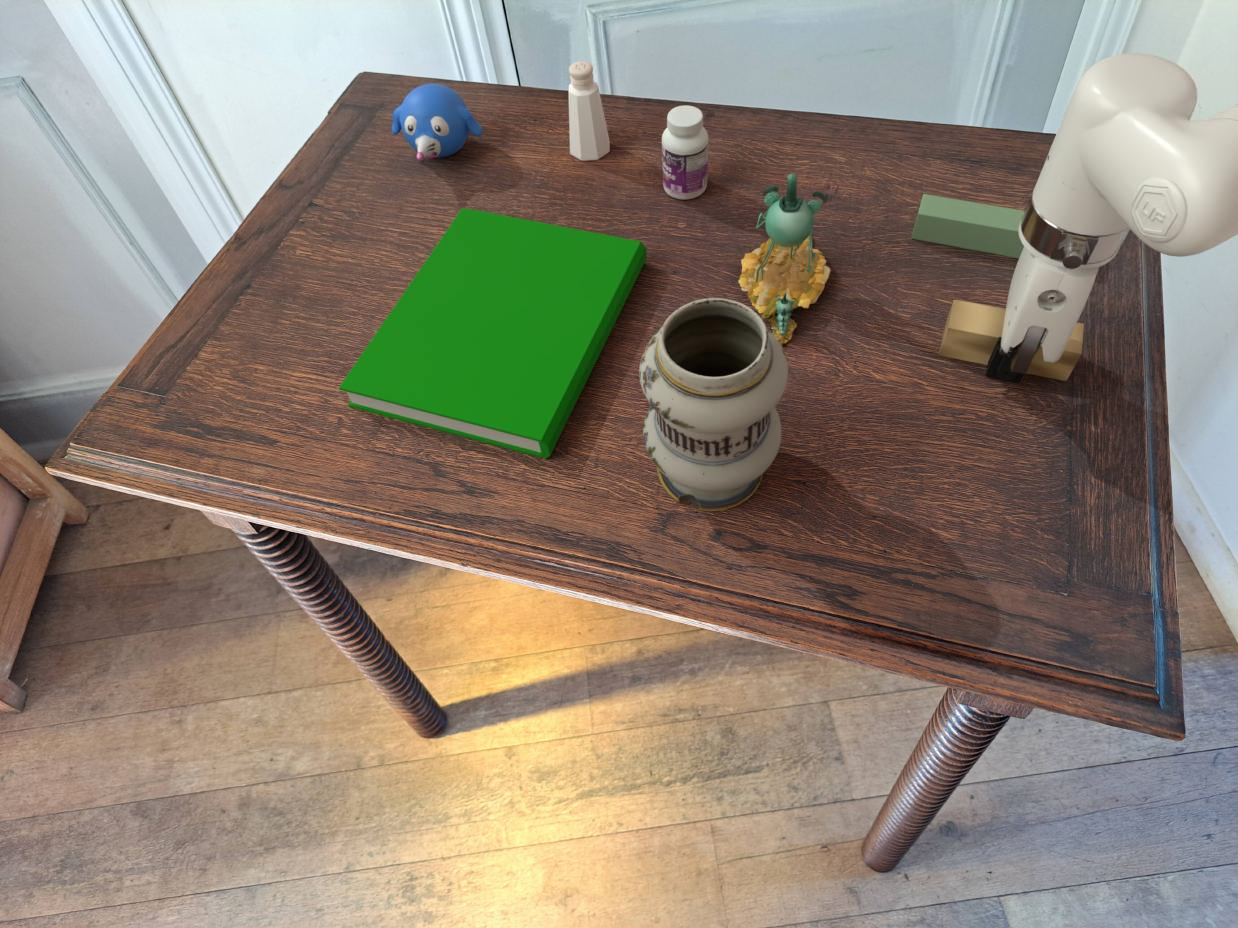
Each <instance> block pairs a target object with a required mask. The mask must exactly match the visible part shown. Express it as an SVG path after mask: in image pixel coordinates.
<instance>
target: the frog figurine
mask: <svg viewBox="0 0 1238 928" xmlns="http://www.w3.org/2000/svg"><path fill="white" fill-rule="evenodd" d="M797 188H798V175H796V174H795V173H789V174H787V179H786V194H785V195H782V196H780V194H779V193H778V192H779V187H778V186H775V185H770V186H768V187H766V188H764V190H763V191H762V196H765V197H764V200H763V202H764V204H765V206H767V207H769V208H768V209H767V210H766V212H765V213H763V212H760V213H759V215H758V218H757V219H758V220H757V222H756V223H757V224H756V226H755V229H759V228H760V227H761V226H763V224H765V231H766V234H767V236H768V237H769V238H768V240H767V241H766V242H762V243H761V244H760V246H759V247H758V248H757V247H756V248H755V249H754V250H752V252H747V253H745V254H744V257H743V258H742V259H741V260H740V263H741V264H740V265H741V267H742V268H741V273H740V275H739V279H738V284H739V286H740V288H741V291H742V292H746V293H747V294H745V296H746V297H747V298H748V299H749V301H750V303H751V306H752V307H754V309H755V310H756V311H757V312H758V313H759V315H760V314H761V318H762V319H767V321H768V322H770V324H769V325H770V327H771V330H772V333H773V334H774V336H775V337H776V338H777V339H778V341H779V342H780V344H781V346H783V345H784V344H787V343H788V342H790V340H792V339H793V333H794V330H795V329H796V328H797V327H798V323H797V322H795V319H792V318H791V315H792V314H793V312H794V309H797V308H798V307H800V308H801V307H802V308H803V309H809V307H810V305H813V304H815V303H816V302H817V301H818V299H819V297H820V295H821V294H822V292H823V291H824V289H825V286H826V285H825V284H826V283H827V281H828V279H829V277H830V273H831V268H830V267H829V266H827V265H826V263H827V260H826V259H825V258H826V257H825V255H823V252H822V251H820V250H819V249H818V248H813V227H814V215H816V214H818V213H819V212H820V210H821V208H822V207H821V206H822V202H821V201H819V200H818V199H811V200H809V201H808V203H807V202H806V201H805V200H804V199H803V198H801V196H798V195H797V192H798V191H797V190H798V189H797ZM779 196H780V197H779ZM811 196H812V197H813V198H815V197H816V198H817V197H818V198H820V199H821V200H822V201H823V202H824V204H826V203H827V201H828V198H827V197H826V195H825V194H824V193H823V192H822V191H819V190H817V191H813V192H812V195H811ZM762 219H764V220H762ZM761 220H762V221H761ZM776 314H777V315H776ZM771 316H772V317H771ZM770 317H771V318H770Z"/></svg>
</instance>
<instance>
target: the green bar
mask: <svg viewBox="0 0 1238 928" xmlns="http://www.w3.org/2000/svg"><path fill="white" fill-rule="evenodd" d="M1024 212H1025V210H1023V209H1022V210H1021V209H1015V208H1009V207H1004V206H998V205H992V204H987V203H981V202H974V201H970V200H969V201H968V200H963V199H957V198H951V197H945V196H939V195H935V194H927V193H923V194H922V198H921V201H920V205H919V208H918V211H917V215H916V219H915V223H914V226H913V231H912V233H911V237H910V238H911V239H912V240H916V241H923V242H928V243H933V244H938V245H944V246H949V247H954V248H961V249H965V250H971V251H977V252H982V253H987V254H988V253H989V254H993V255H998V256H1004V257H1009V258H1015V259H1019V258H1020V255H1021V253H1022V250H1023V248H1024V245H1023V244H1022V242H1021V240H1020V238H1019V233H1018V229H1019V225H1020V222H1021V220H1022V217H1023V215H1024Z"/></svg>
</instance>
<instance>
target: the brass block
mask: <svg viewBox="0 0 1238 928" xmlns="http://www.w3.org/2000/svg"><path fill="white" fill-rule="evenodd" d="M1005 312H1006V308H1002V307H997V306H992V305H987V304H982V303H975V302H970V301H964V300H959V299H953V301H952V303H951V306H950V310H949V312H948V315H947V318H946V321H945V323H944V326H943V331H942V335H941V340H940V346H939V350H938V356H941V357H945V358H950V359H955V360H959V361H965V362H968V363H975V364H978V365H983V366H987V364H988V361H989V358H990V356H991V354H992V352H993V349H994V347H995V345H996V342H997V340H998V338H999V337H1002V332H1003V325H1004V319H1005ZM1084 331H1085V323H1081V322H1077V324H1076V326H1075V328H1074V330H1073V332H1072V334H1071V336H1070V338H1069V341H1068V343H1067V345H1066V347H1065V349H1064V351H1063V353H1062V355H1061V357H1060V359H1059V360H1058V361H1056V362H1055V363H1051V362H1045V361H1044V358H1043V350H1042V343H1041V345H1040V347H1039V349H1038V350H1037V352H1036V354H1035V355H1034V357H1033V359H1032V361H1031V363H1030V365H1029V368H1028V370H1027V372H1026V374H1028V375H1033V376H1037V377H1042V378H1048V379H1053V380H1057V381H1062V382H1067V381H1068V379H1069V378H1070V376H1071V374H1072V372H1073V371H1074V369H1075V367H1076V365H1077V363H1078V361H1079V359H1080V358H1081V356H1082V354H1083V345H1084Z"/></svg>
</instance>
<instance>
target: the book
mask: <svg viewBox="0 0 1238 928" xmlns="http://www.w3.org/2000/svg"><path fill="white" fill-rule="evenodd" d="M646 261H647V246H646V245H645V244H643V242H642V240H641V241H640V240H636V239H630V238H625V237H619V236H615V235H614V236H613V235H609V234H603V233H598V232H593V231H588V230H583V229H576V228H572V227H566V226H563V225H556V224H550V223H545V222H540V221H536V220H529V219H524V218H520V217H514V216H509V215H503V214H498V213H493V212H487V211H482V210H478V209H473V208H467V207H462V208H461V209H460V211H459V212H458V213H457V215H456V216H455V218H454V220H452V222H451V223H450V225H449V227H448V228H447V230H446V231H445V232H444V234H443V235H442V237H441V238H440V240H439V241H438V243H437V244H436V246H435V247H434V249H433V250H432V251H431V253H429V256H428V257H427V258H426V259H425V261H424V263H423V265H422V266H421V267H420V269H419V270H418V272H417V273H416V275H415V276H414V277H413V279H412V281H411V282H410V283H409V284H408V286H407V288H406V289H405V290H404V292H403V293H402V295H401V297H400V298H399V300H398V301H397V302H396V304H395V305H394V307H393V308H392V310H391V311H390V312H389V313H388V315H387V317H386V319H385V320H384V321H383V322H382V324H381V326H380V327H379V328H378V330H377V332H376V333H375V334H374V335H373V337H372V338H371V340H370V341H369V343H368V345H366V347H365V349H364V351H362V353H361V355H360V356H359V358H358V359H357V360H356V362H355V363H354V365H353V366H352V368H351V369H350V370H349V372H348V373H347V375H346V377H345V378H344V380H343V381H342V382H341V384H340V386H339V387H338V389H339V391H342V392H346V394H347V396H348V397H349V399H350V400H349V402H348V404H347V406H348V407H349V408H353V409H356V410H360V411H364V412H367V413H371V414H375V415H379V416H383V417H387V418H391V419H393V420H399V421H402V422H406V423H410V424H414V425H417V426H420V427H425V428H429V429H433V430H436V431H439V432H443V433H446V434H452V435H455V436H458V437H463V438H466V439H470V440H473V441H478V442H481V443H484V444H488V445H492V446H496V447H500V448H503V449H507V450H511V451H515V452H519V453H522V454H527V455H530V456H534V457H538V458H542V459H544V460H546V459H547V458H549V457H551V455H552V453H553V451H554V448H555V447H556V445H557V442H558V441H559V439H560V436H561V434H562V432H563V430H564V428H565V426H566V424H567V422H568V421H569V418H570V416H571V414H572V412H573V410H574V408H575V406H576V404H577V402H578V400H579V397H580V396H581V394H582V391H583V390H584V387H585V385H586V383H587V382H588V379H589V377H590V375H591V373H592V371H593V369H594V367H595V365H596V363H597V361H598V359H599V356H600V355H601V352H602V351H603V348H604V347H605V345H606V343H607V341H608V339H609V336H610V334H611V332H612V330H613V328H614V326H615V324H616V322H617V320H618V318H619V316H620V314H621V312H622V310H623V308H624V306H625V304H626V301H627V299H628V298H629V296H630V293H631V291H632V289H633V288H634V286H635V283H636V281H637V279H638V277H639V275H640V273H641V271H642V269H643V267H644V265H645V263H646Z"/></svg>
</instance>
